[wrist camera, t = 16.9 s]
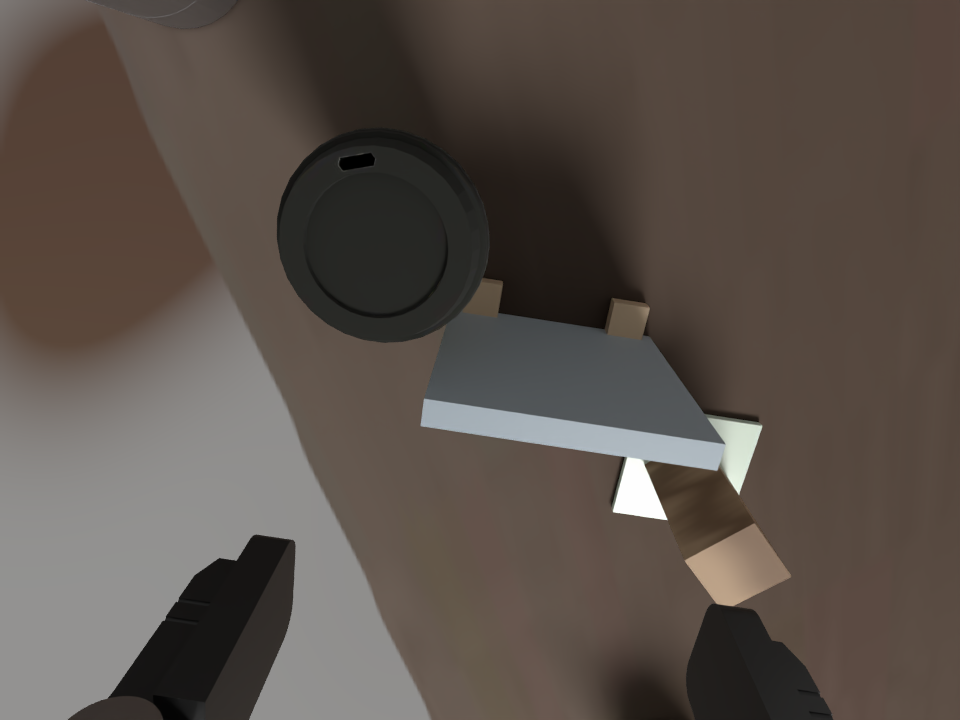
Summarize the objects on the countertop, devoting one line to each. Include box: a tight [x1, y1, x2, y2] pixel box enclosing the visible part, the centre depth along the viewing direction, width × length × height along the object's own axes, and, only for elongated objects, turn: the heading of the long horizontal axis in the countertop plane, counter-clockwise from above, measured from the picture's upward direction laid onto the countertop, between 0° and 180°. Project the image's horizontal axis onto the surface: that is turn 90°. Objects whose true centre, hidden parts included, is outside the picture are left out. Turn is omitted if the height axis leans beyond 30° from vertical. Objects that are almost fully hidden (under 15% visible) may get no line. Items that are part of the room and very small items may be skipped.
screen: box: [421, 278, 726, 471], centre depth 36 cm, size 14×6×16 cm, turn 81°
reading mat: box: [612, 414, 762, 520], centre depth 46 cm, size 9×9×1 cm
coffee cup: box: [277, 128, 490, 343], centre depth 34 cm, size 10×10×15 cm
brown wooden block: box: [645, 461, 792, 606], centre depth 41 cm, size 4×5×11 cm
